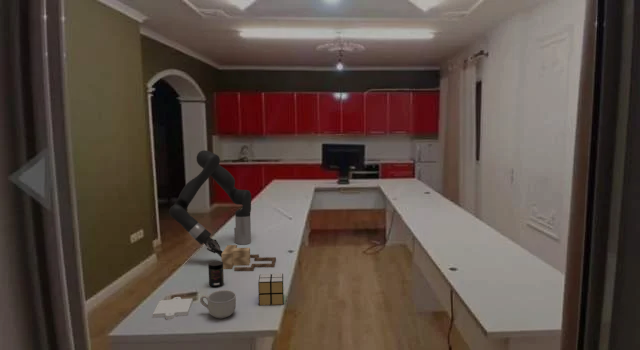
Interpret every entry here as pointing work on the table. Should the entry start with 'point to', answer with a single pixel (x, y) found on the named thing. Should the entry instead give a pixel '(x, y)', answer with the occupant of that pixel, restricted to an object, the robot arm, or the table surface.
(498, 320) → the table surface
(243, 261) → the T block
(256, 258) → the T outline
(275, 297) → the puzzle cube
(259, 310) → the table surface
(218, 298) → the teacup
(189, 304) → the mounting plate
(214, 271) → the supplement container
